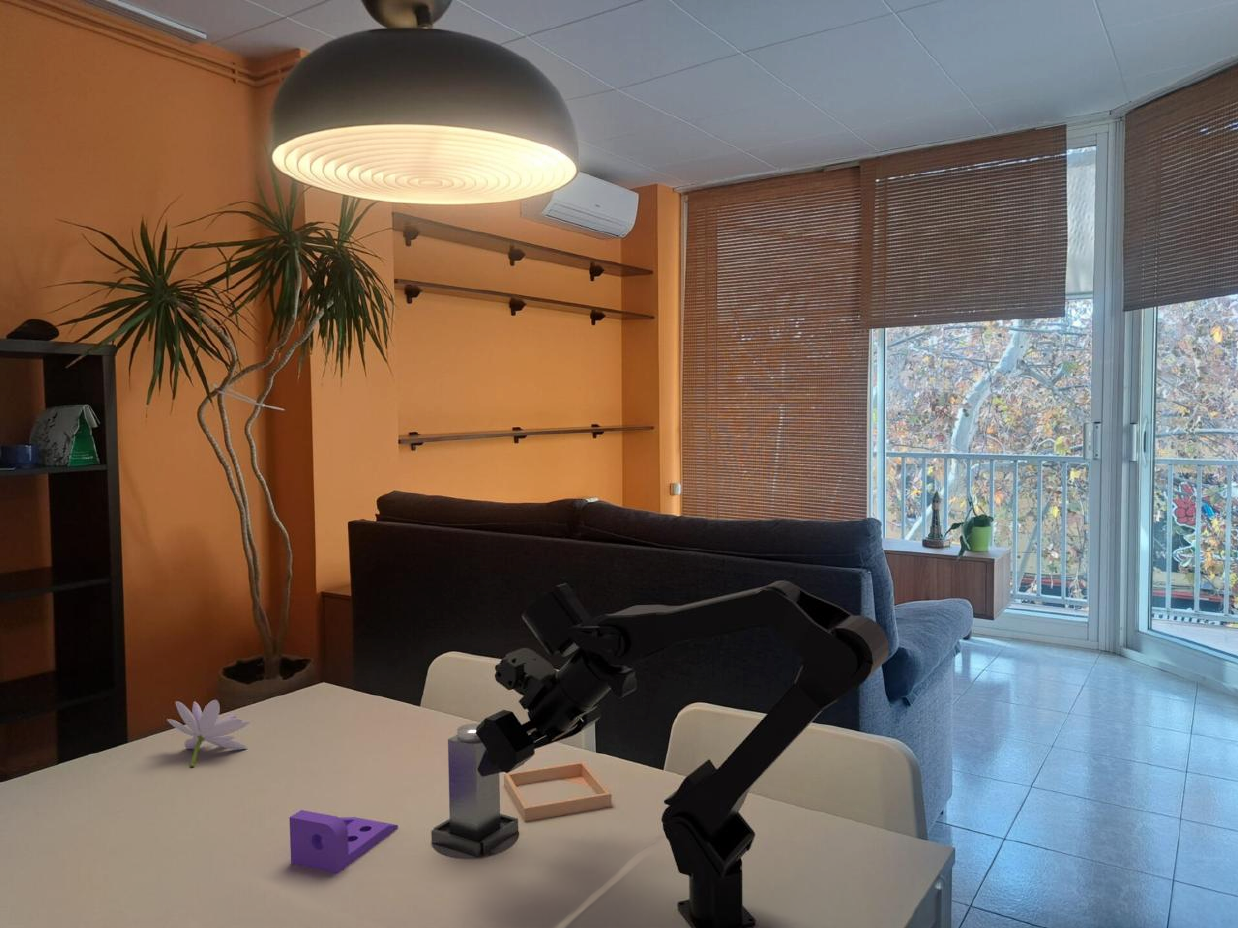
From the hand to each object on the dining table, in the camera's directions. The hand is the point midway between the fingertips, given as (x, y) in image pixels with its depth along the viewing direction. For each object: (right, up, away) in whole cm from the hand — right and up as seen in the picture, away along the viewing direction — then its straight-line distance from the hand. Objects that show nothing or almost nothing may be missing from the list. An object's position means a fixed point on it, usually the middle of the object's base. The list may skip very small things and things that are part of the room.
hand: (504, 759), depth 109 cm
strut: (-4, -11, +3) cm, 12 cm away
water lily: (-52, -11, +34) cm, 63 cm away
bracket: (-20, -13, +1) cm, 24 cm away
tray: (+5, -11, +15) cm, 19 cm away
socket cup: (-4, -12, +3) cm, 13 cm away
